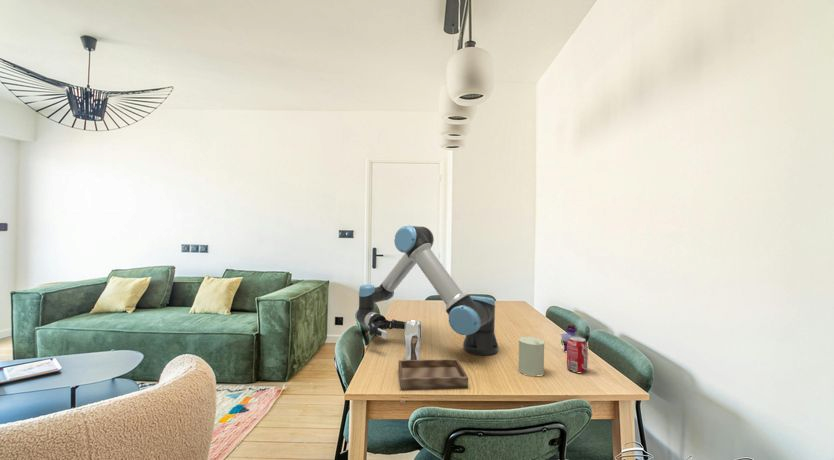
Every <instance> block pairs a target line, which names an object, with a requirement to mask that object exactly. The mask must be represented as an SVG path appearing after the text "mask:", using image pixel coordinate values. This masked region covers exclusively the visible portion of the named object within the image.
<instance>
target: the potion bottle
mask: <svg viewBox="0 0 834 460" xmlns="http://www.w3.org/2000/svg"><path fill="white" fill-rule="evenodd" d="M565 329H566V330H565V331H567V333H561V334H560V336H561V340H560V343H561V345H562V346H563V347H564V352H565V351H567V341H568V340H569V337H571V336H577V337H582V336H580V335H577V334H576V333H577V332H578V330H577V327H576V325H575V324H572V323H568V324H567V326H566V327H565Z"/></svg>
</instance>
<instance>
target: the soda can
mask: <svg viewBox="0 0 834 460" xmlns="http://www.w3.org/2000/svg"><path fill="white" fill-rule="evenodd" d="M586 340H587V339H586V338H584V337H582V336H581V337H577V336H571V337H569V340H568V341H567V353H566V368H567V369H569V371H570V370H572V371H575V372H584V373H585V372H587V371H588V362H589V361H588V358H589V357H588V356H589V355H588V353H589V352H588V351H589V348H588V347H589V346H588V343H587V341H586ZM572 371H571V372H572ZM575 372H574V373H575Z"/></svg>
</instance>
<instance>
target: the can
mask: <svg viewBox="0 0 834 460" xmlns="http://www.w3.org/2000/svg"><path fill="white" fill-rule="evenodd" d="M517 371H518V372H519V373H520V372H521V373H520V374H522V373H523V374H522V375H524V374H526V375H525V376H527V375H531V376H530V377H532V376H537V375H542V374H544V375H545V341H544V340H543V339H541V338H538V337H533V336H520V337H519V338H518V367H517Z"/></svg>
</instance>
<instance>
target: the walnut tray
mask: <svg viewBox="0 0 834 460" xmlns="http://www.w3.org/2000/svg"><path fill="white" fill-rule="evenodd" d="M397 369H398V377H399V387H400V391H417V390H418V391H421V390H424V391H425V390H427V391H428V390H458V389H459V390H461V389H465V390H466V389H469V376H468V375H467V373H466V372H465V369H464V368H463V367H462V365H461V363H460V361H459V360H458V358H454V359H451V358H449V359H446V358H445V359H444V358H443V359H442V358H441V359H420V360H405V359H401V360H400V359H399V360H398V368H397Z"/></svg>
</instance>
